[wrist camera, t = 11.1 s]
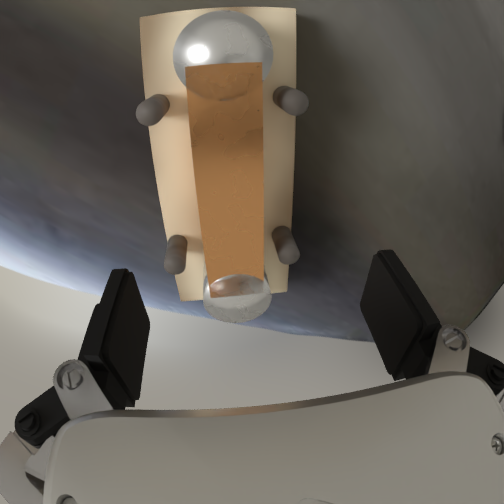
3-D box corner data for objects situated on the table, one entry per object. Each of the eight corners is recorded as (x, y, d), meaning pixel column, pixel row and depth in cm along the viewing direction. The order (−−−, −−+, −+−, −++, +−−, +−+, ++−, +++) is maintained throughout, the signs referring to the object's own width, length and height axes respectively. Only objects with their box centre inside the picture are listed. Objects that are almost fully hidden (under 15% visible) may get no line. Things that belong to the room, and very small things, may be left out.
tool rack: (288, 12, 16) (309, 1, 12) (282, 278, 30) (293, 314, 26) (145, 21, 16) (127, 11, 12) (182, 287, 30) (179, 325, 26)
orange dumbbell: (261, 19, 15) (272, 9, 12) (263, 287, 28) (270, 319, 25) (178, 23, 15) (170, 15, 11) (206, 292, 28) (207, 325, 25)
